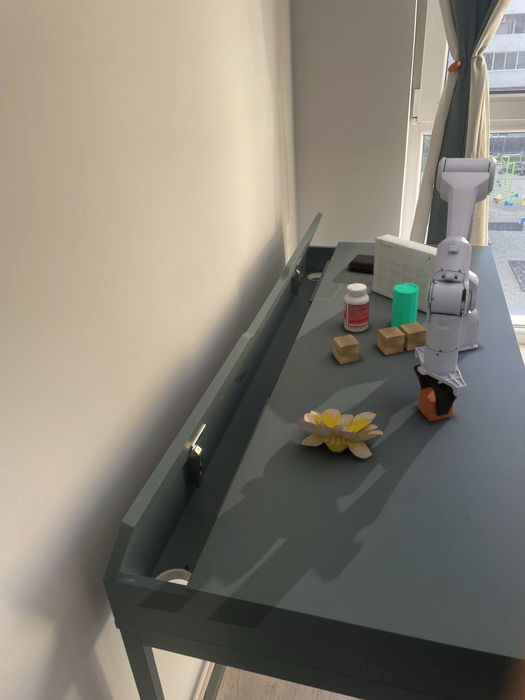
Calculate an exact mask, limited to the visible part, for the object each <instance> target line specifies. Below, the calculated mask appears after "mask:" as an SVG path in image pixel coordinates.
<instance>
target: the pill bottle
mask: <svg viewBox="0 0 525 700" xmlns="http://www.w3.org/2000/svg"><path fill="white" fill-rule="evenodd" d="M367 290H368V289H367V285H366V284H363V283H358V282H355V283H350V284H348V285H347V286H346V294H345V295H344V297H343V327H344V329H346V331H348V332H352V333H360V332H364V331H366V330H367V329H368V328H369V324H370V323H369V322H370V321H369V320H370V297H369V296H370V295H368V293H367Z"/></svg>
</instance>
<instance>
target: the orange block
mask: <svg viewBox="0 0 525 700" xmlns="http://www.w3.org/2000/svg"><path fill="white" fill-rule="evenodd" d="M453 407H454V403H453V404H452V406H451V408H450V410H449V413H448V414H446V415H442V416H438V415H437V414H436V399H435V394H434V391H433V389H432V387H428V388H424V389H421V388H420V389H419V396H418V406H417V409H418V410H419V411H420V412H421V414H423V415H424V417H425V418H426V419H427V420H428V421H429V422H434V421H438V420H443V419H447V418H451V417H452V415H453Z"/></svg>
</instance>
